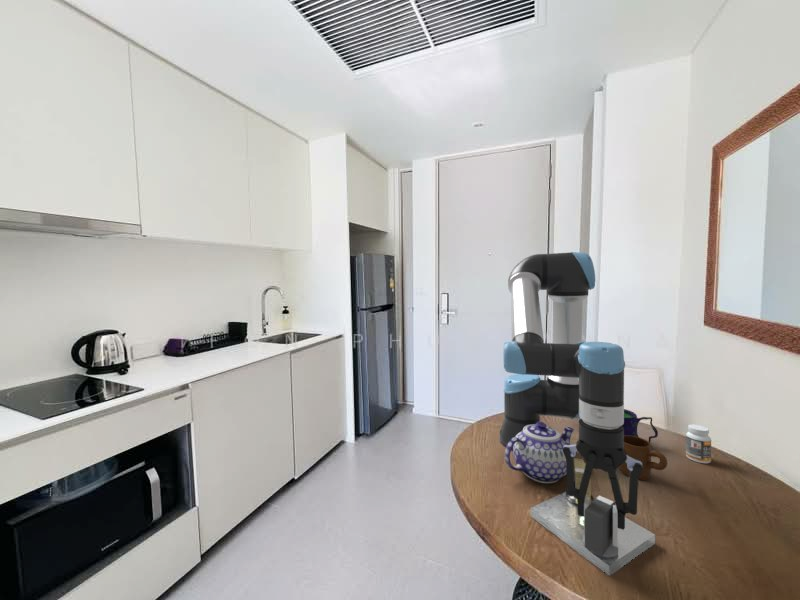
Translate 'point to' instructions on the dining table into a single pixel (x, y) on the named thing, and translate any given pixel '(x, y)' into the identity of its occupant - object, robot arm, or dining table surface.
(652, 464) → the mug
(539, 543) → the dining table surface
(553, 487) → the dining table surface
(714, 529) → the dining table surface
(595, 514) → the dark grey block
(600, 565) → the plate
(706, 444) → the pill bottle
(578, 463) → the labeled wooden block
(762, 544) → the dining table surface
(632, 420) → the mug
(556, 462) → the teapot
